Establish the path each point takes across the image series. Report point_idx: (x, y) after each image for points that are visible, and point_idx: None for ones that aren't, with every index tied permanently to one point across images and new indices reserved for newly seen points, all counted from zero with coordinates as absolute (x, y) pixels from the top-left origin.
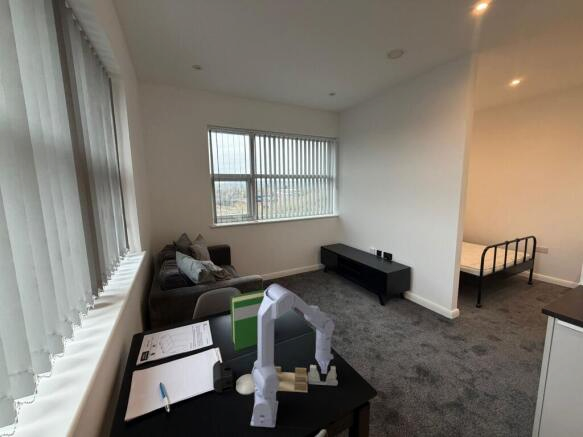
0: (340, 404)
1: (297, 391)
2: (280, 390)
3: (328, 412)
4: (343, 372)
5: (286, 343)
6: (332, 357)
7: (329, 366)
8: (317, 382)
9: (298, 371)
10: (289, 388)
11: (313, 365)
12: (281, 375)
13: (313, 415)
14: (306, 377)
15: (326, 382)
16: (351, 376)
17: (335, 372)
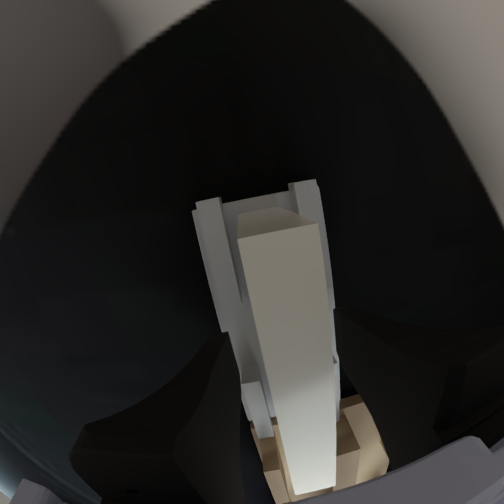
0: (449, 162)
1: None
2: (386, 469)
3: (490, 237)
4: (117, 143)
5: (75, 483)
6: (499, 488)
7: (480, 374)
8: (333, 358)
9: (284, 480)
10: (379, 455)
11: (295, 480)
12: (299, 498)
13: (497, 307)
14: None
15: None
16: (151, 70)
17: (301, 216)
